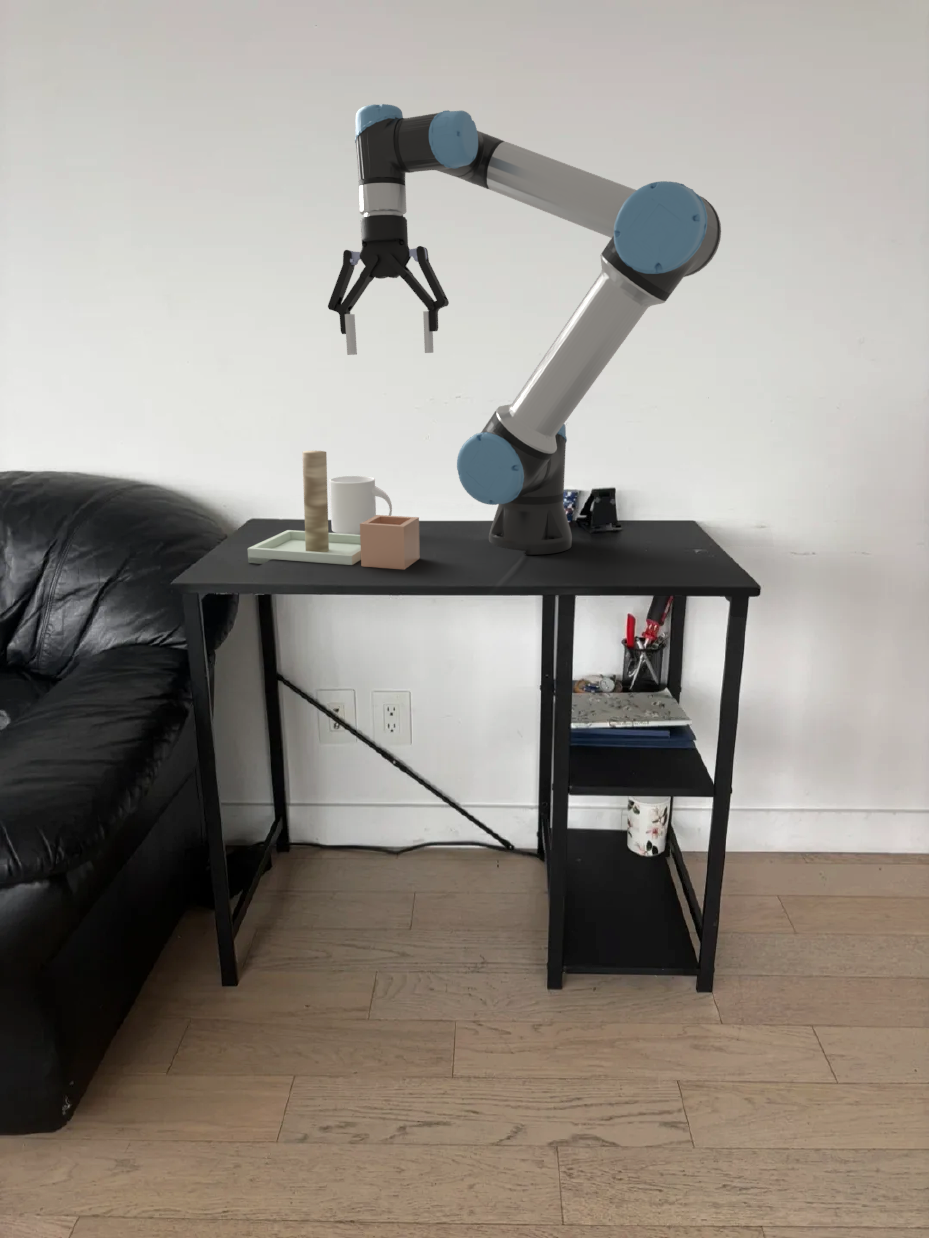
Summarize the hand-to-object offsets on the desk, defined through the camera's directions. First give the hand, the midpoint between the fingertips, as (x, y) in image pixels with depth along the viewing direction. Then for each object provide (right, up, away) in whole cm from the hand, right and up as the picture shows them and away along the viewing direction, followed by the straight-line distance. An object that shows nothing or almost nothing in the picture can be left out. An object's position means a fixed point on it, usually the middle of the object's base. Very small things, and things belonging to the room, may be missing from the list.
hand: (390, 354), depth 148 cm
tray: (-13, -34, +6) cm, 37 cm away
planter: (0, -36, -2) cm, 36 cm away
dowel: (-13, -33, +5) cm, 36 cm away
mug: (-7, -29, +22) cm, 37 cm away
